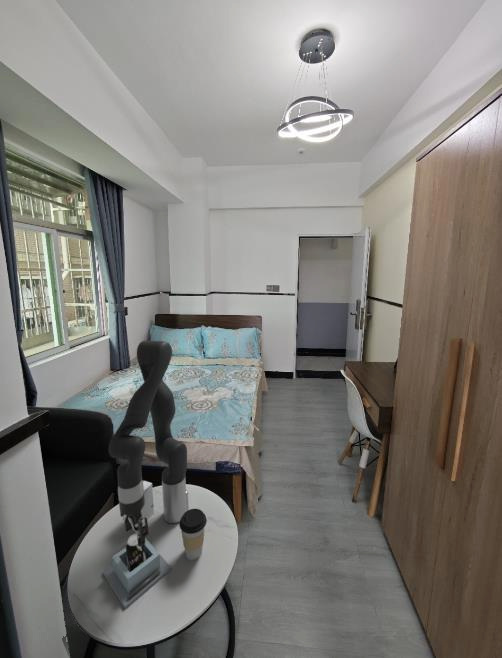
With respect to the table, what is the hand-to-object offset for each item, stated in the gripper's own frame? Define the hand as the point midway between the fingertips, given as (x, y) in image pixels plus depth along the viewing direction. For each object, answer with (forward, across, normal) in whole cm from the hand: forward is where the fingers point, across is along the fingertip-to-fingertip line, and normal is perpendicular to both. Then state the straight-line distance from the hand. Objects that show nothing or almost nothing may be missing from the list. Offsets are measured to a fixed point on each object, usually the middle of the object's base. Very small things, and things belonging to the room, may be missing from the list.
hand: (135, 536), depth 96 cm
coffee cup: (+14, -9, -17) cm, 24 cm away
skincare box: (+14, +19, -12) cm, 26 cm away
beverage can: (+13, 0, 0) cm, 13 cm away
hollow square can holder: (+14, 0, 0) cm, 14 cm away
